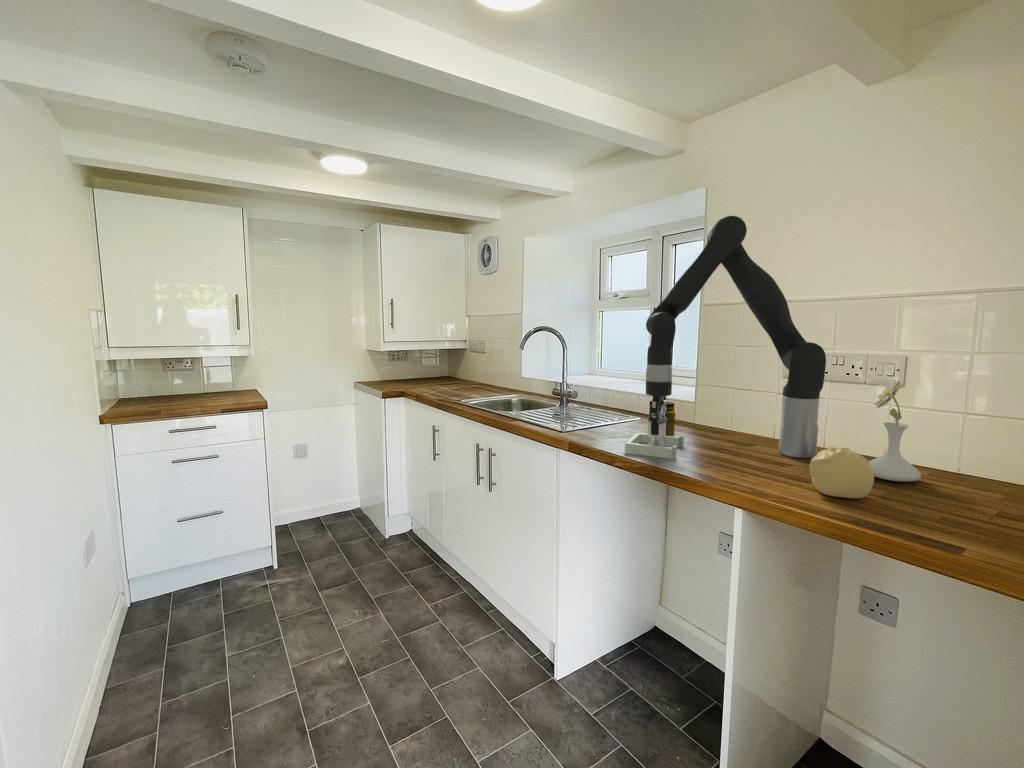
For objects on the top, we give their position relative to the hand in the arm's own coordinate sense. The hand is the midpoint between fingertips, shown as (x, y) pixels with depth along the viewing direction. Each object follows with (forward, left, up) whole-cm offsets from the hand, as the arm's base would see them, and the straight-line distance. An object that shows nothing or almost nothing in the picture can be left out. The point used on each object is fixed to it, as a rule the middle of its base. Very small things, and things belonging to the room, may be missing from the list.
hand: (657, 432), depth 145 cm
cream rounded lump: (-44, +21, -6) cm, 49 cm away
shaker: (0, 0, -6) cm, 6 cm away
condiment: (+1, -19, -6) cm, 20 cm away
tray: (0, 0, -6) cm, 6 cm away
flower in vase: (-57, +2, -6) cm, 57 cm away
